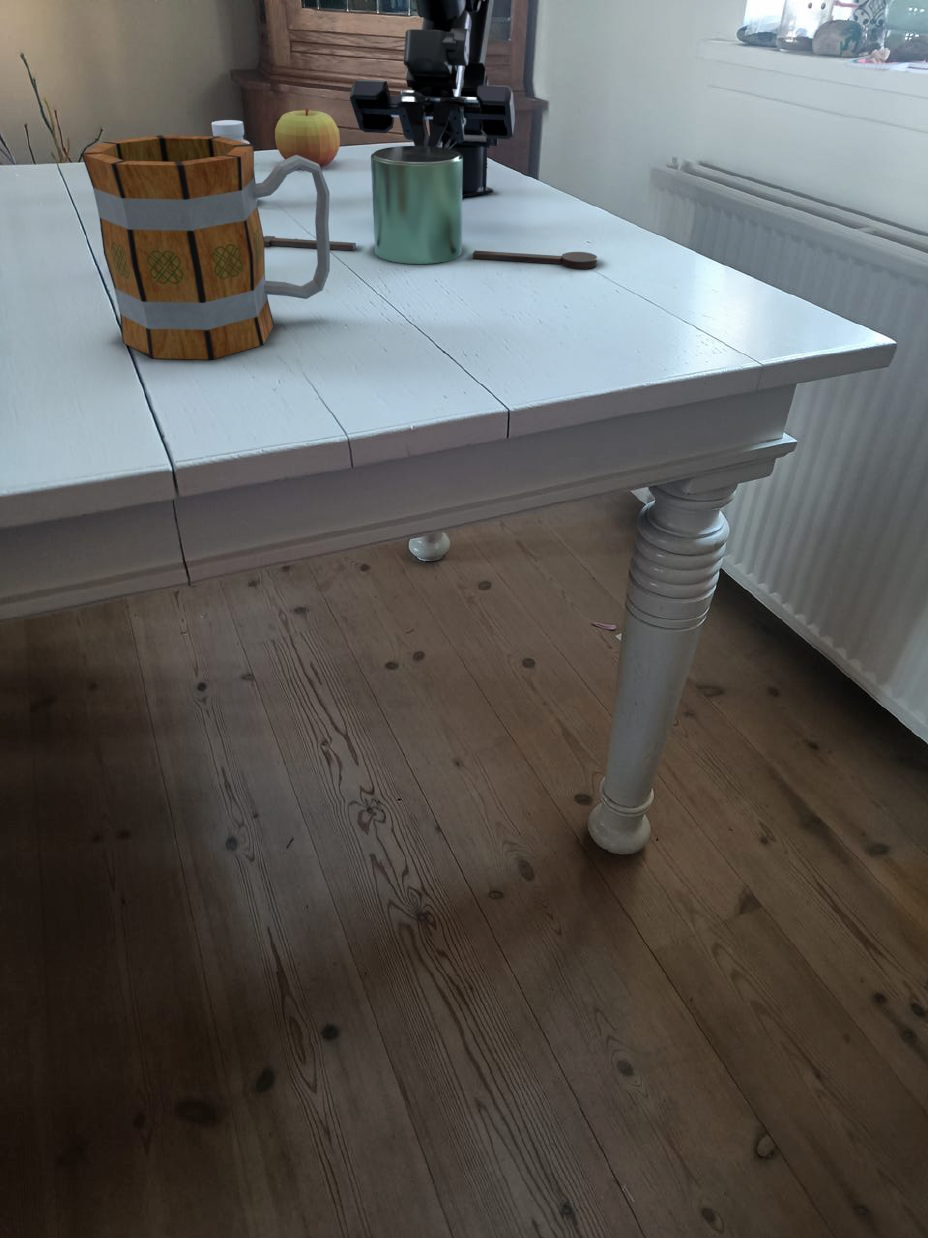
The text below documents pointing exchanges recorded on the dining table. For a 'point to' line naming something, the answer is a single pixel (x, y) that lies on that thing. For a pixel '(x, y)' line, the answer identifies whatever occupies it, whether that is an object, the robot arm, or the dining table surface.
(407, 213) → the can
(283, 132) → the apple
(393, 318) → the dining table surface
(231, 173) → the mug
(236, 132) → the pill bottle
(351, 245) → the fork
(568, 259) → the spoon
